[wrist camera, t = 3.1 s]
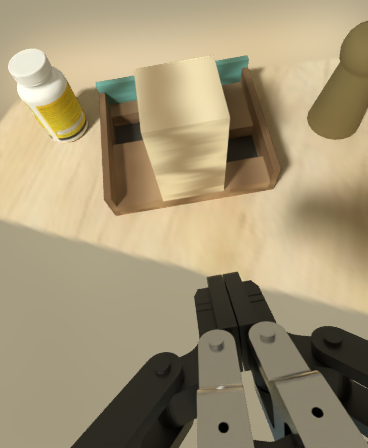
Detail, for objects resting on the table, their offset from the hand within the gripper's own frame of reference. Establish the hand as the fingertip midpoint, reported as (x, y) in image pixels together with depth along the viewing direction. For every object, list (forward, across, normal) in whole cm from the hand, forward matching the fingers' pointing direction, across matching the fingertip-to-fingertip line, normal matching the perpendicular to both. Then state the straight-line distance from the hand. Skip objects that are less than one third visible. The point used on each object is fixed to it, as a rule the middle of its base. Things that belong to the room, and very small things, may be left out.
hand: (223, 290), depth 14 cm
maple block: (+21, 0, -1) cm, 21 cm away
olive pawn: (+26, -18, -3) cm, 32 cm away
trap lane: (+25, 0, -3) cm, 25 cm away
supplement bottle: (+30, +15, -8) cm, 34 cm away
